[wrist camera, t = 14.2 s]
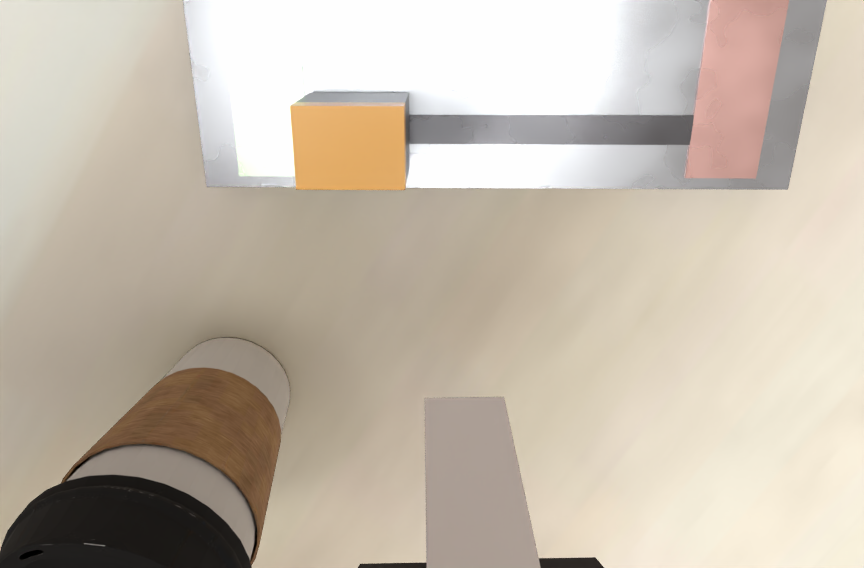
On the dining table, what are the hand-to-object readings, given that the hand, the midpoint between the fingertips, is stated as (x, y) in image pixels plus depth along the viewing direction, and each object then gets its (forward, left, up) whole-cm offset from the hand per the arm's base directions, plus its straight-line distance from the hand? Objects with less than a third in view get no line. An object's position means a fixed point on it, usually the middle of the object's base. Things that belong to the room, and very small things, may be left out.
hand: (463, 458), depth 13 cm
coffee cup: (-11, -10, -20) cm, 25 cm away
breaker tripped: (-4, +3, -17) cm, 18 cm away
